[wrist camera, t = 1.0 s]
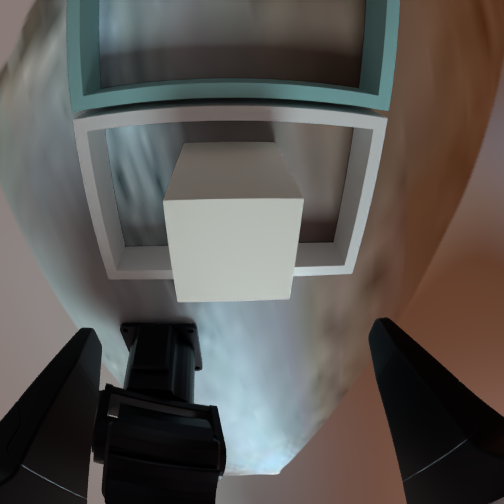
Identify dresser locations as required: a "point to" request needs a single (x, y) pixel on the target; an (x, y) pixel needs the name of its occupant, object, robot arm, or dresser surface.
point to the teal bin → (367, 95)
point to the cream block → (232, 222)
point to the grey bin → (228, 109)
